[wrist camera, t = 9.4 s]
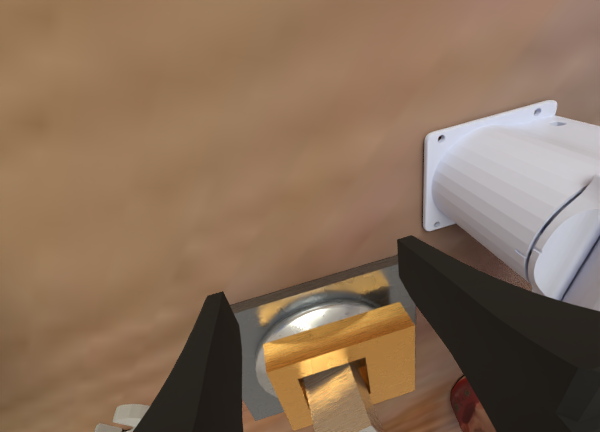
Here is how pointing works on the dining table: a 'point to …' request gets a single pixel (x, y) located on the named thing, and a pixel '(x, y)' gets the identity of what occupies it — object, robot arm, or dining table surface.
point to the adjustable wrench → (125, 417)
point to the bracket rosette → (327, 338)
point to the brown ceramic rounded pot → (469, 409)
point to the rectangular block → (341, 401)
